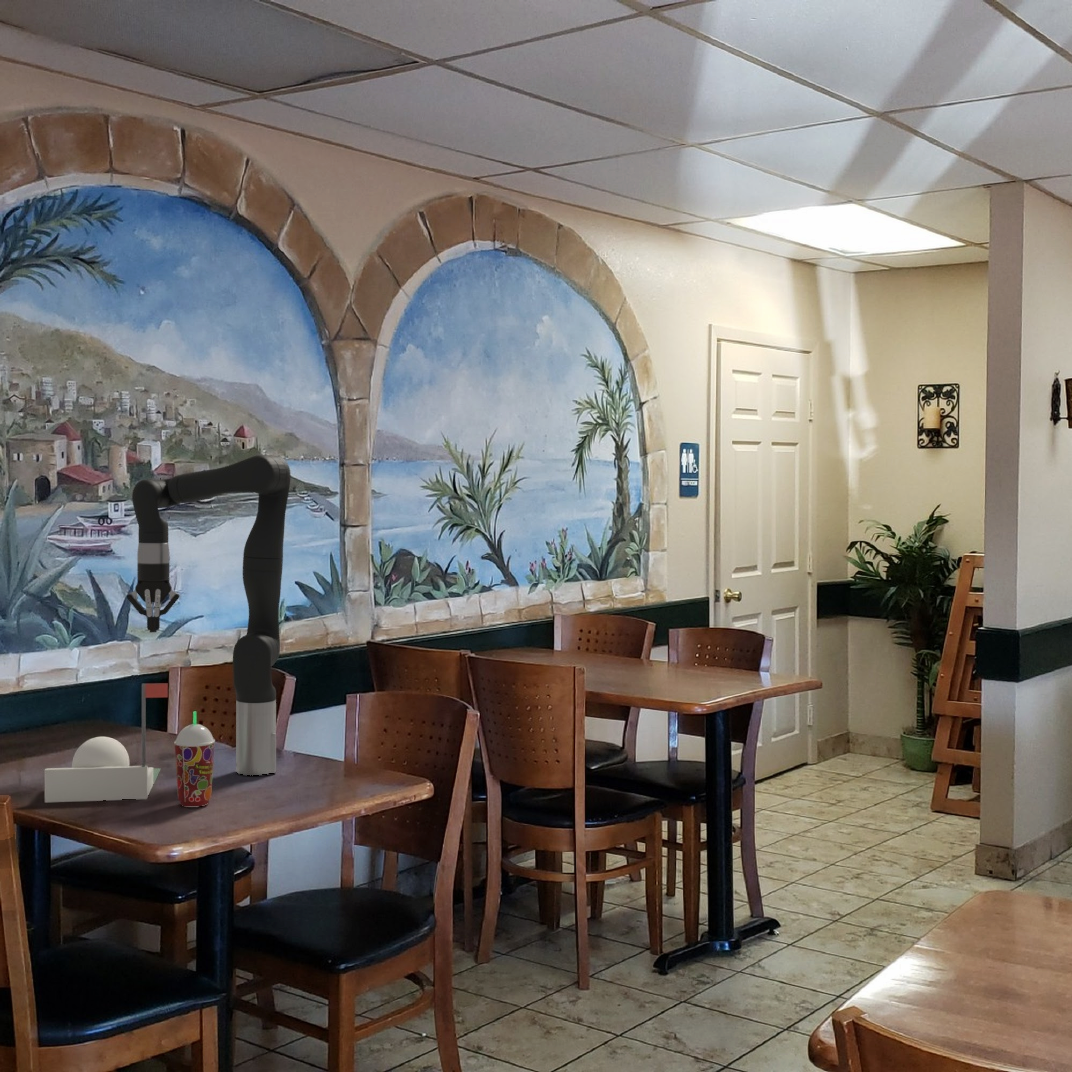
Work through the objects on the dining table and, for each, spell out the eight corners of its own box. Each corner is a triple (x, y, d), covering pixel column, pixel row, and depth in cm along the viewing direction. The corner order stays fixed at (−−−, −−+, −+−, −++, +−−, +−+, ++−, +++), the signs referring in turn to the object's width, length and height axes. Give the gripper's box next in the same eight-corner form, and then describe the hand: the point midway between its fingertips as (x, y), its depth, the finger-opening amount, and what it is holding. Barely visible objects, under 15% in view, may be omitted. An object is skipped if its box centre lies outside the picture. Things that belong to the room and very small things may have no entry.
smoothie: (204, 810, 270) (204, 715, 269) (167, 808, 271) (167, 713, 271) (221, 801, 278) (221, 709, 277) (185, 799, 280) (185, 707, 279)
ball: (130, 725, 285) (122, 770, 277) (135, 758, 294) (127, 802, 285) (73, 725, 284) (64, 770, 275) (80, 757, 292) (71, 802, 283)
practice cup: (178, 769, 309) (178, 665, 308) (167, 798, 280) (167, 683, 279) (68, 772, 304) (67, 666, 303) (44, 802, 275) (44, 686, 274)
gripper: (123, 562, 310) (123, 634, 310) (180, 562, 312) (180, 633, 313) (127, 560, 317) (127, 630, 318) (182, 560, 320) (182, 630, 320)
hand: (153, 632), depth 315 cm, fingers closed
